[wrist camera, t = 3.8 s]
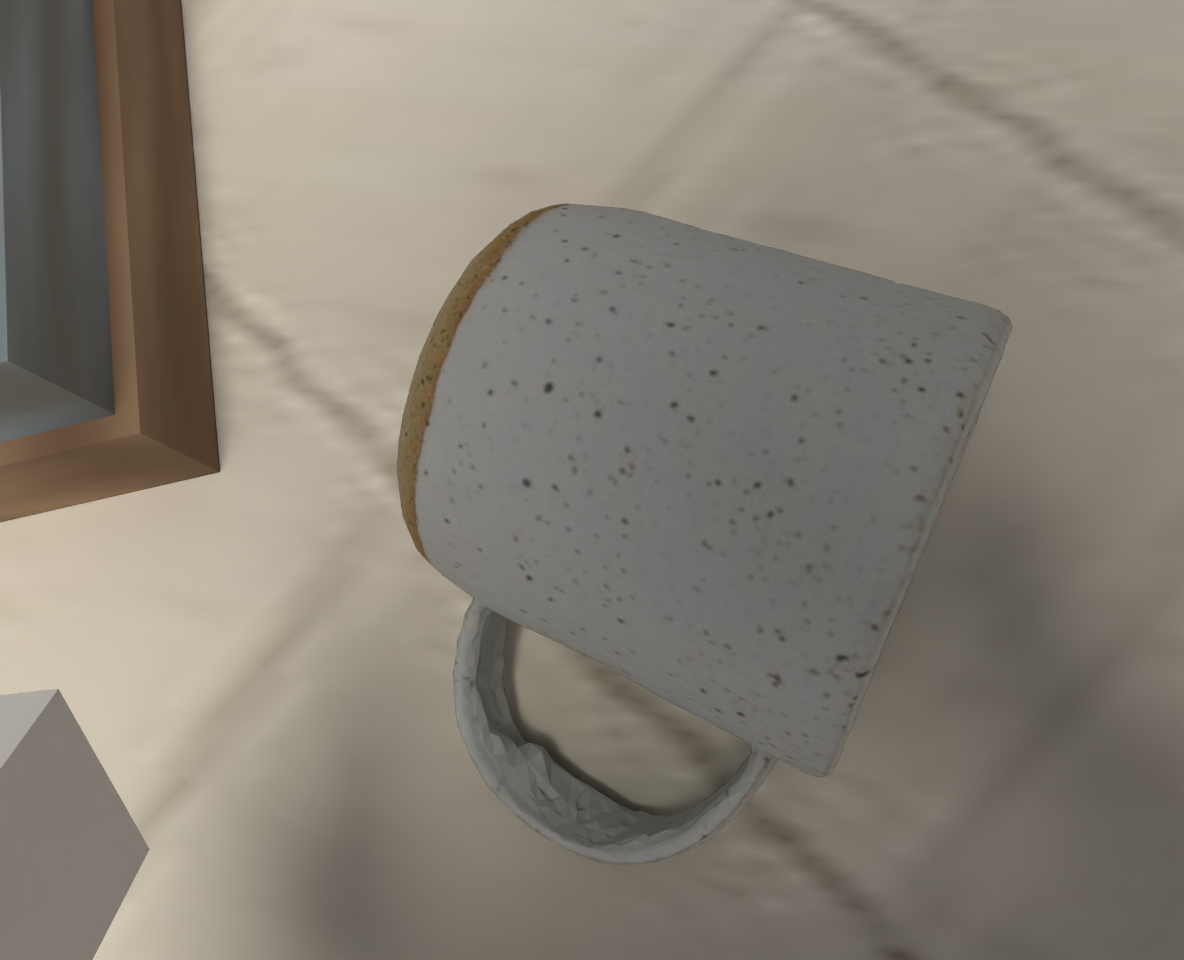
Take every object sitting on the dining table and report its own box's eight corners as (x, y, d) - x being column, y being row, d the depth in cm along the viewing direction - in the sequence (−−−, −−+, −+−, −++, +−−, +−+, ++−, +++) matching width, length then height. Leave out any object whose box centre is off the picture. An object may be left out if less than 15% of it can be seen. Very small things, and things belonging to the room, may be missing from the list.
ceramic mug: (599, 282, 23) (505, 71, 16) (977, 409, 21) (1074, 235, 14) (393, 747, 22) (184, 755, 14) (778, 934, 20) (765, 1055, 12)
